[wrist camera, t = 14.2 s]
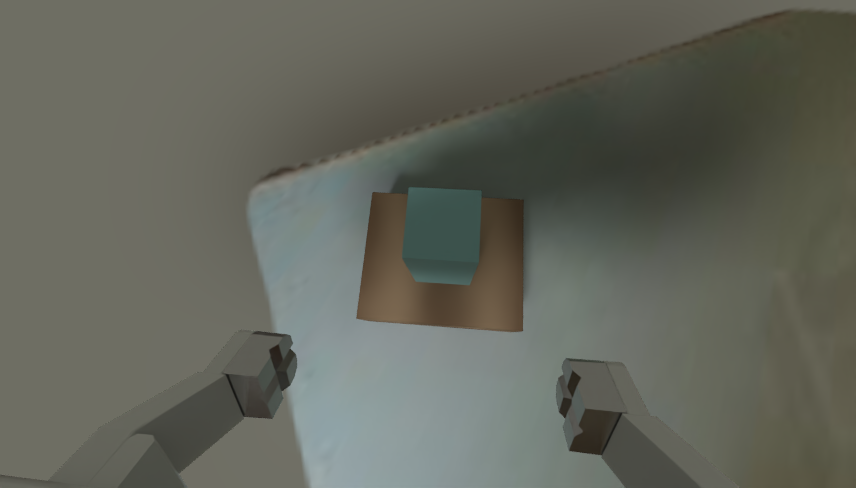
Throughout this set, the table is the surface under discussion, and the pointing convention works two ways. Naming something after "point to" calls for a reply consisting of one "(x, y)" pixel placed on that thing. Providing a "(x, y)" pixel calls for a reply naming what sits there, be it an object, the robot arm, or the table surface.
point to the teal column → (442, 234)
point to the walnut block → (436, 302)
